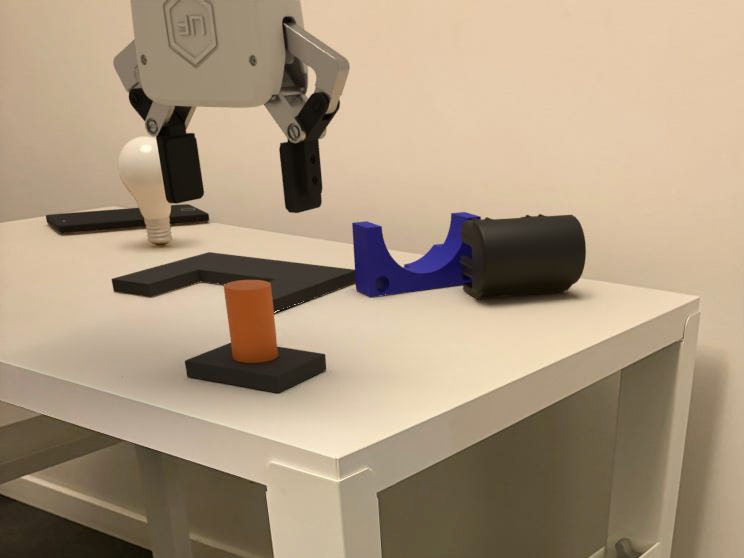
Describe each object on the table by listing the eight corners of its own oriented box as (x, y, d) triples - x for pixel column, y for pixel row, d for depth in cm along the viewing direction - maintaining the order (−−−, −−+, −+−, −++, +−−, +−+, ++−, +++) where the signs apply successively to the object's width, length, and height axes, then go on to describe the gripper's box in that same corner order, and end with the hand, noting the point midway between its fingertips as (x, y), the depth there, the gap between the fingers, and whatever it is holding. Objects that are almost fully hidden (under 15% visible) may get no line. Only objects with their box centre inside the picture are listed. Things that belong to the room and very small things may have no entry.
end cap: (484, 307, 88) (485, 226, 84) (456, 289, 93) (456, 213, 90) (584, 298, 91) (589, 220, 87) (551, 281, 97) (555, 207, 93)
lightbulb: (121, 245, 110) (102, 135, 105) (173, 238, 114) (157, 132, 108) (148, 253, 106) (129, 140, 101) (200, 246, 110) (185, 136, 104)
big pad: (113, 292, 92) (111, 278, 91) (210, 264, 102) (208, 251, 102) (271, 314, 85) (270, 300, 85) (357, 282, 96) (356, 269, 95)
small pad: (186, 377, 70) (172, 287, 67) (238, 355, 75) (228, 270, 72) (278, 393, 68) (268, 300, 64) (326, 370, 72) (320, 282, 69)
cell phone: (211, 221, 123) (210, 213, 122) (60, 234, 115) (58, 225, 114) (190, 211, 129) (188, 203, 128) (45, 222, 121) (44, 214, 121)
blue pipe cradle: (456, 273, 99) (456, 209, 96) (480, 282, 96) (480, 216, 93) (349, 287, 94) (345, 220, 91) (370, 297, 91) (366, 227, 88)
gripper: (41, -117, 56) (104, 205, 66) (289, -138, 50) (321, 223, 59) (133, -105, 62) (179, 190, 71) (367, -122, 56) (385, 205, 65)
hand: (243, 205), depth 65 cm, fingers open, 9 cm apart
